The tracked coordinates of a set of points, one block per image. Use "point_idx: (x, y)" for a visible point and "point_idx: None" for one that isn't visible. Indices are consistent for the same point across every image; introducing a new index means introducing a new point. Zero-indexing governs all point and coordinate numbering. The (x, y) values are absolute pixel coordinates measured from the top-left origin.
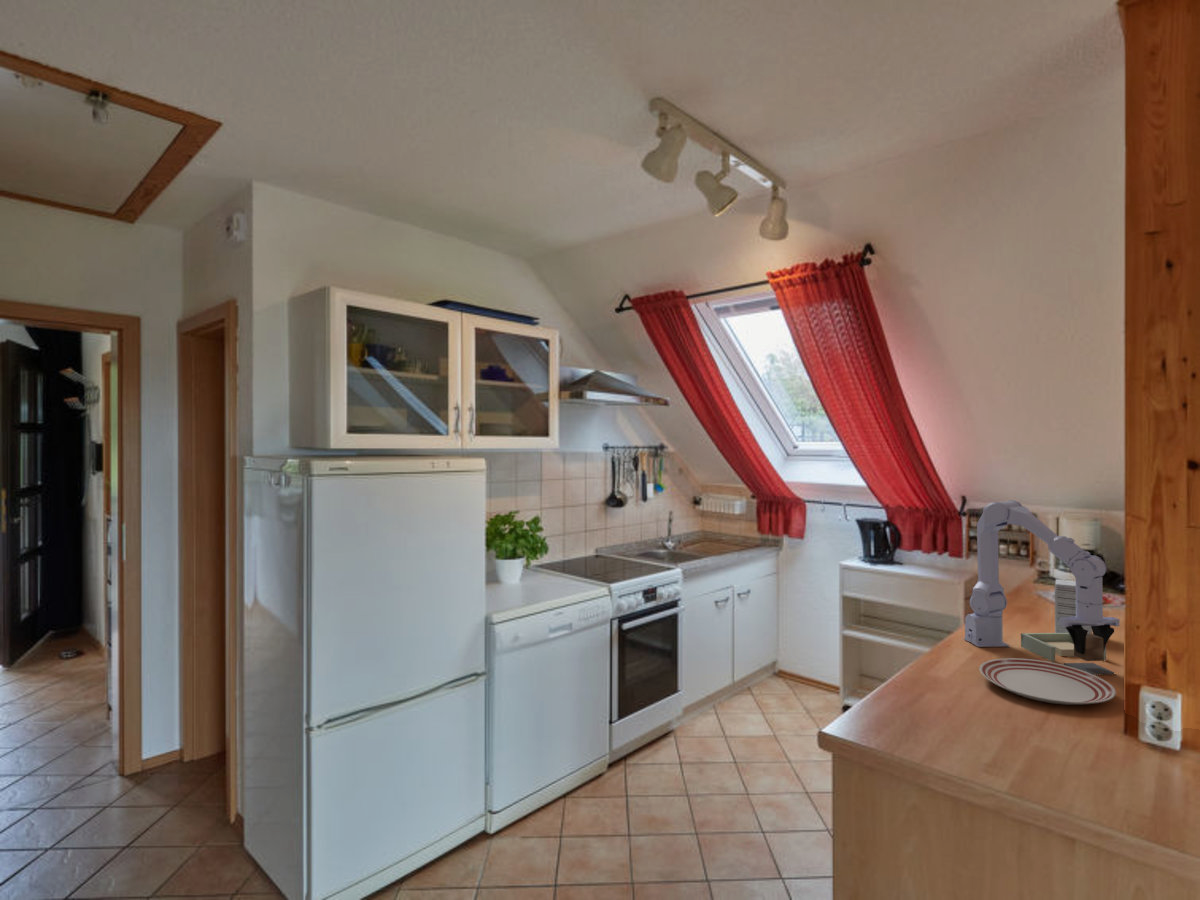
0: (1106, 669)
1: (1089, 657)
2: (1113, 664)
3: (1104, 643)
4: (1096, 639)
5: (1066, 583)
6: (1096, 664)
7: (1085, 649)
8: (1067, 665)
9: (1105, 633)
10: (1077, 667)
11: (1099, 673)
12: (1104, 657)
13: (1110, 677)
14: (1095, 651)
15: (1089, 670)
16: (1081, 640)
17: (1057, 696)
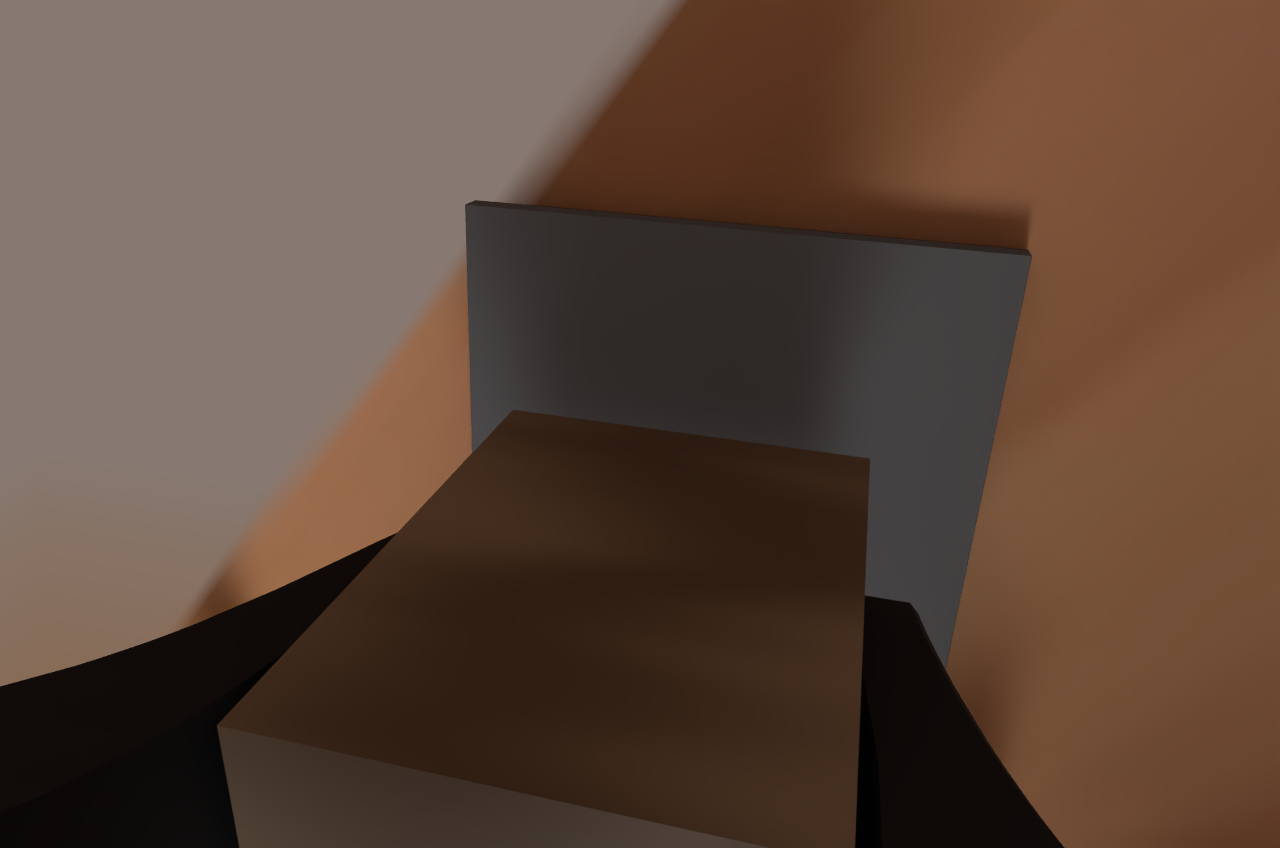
0: (488, 394)
1: (800, 482)
2: (227, 582)
3: (278, 624)
4: (465, 743)
5: None
6: None
7: (856, 625)
8: (944, 659)
9: (21, 806)
10: (884, 544)
11: (755, 240)
12: None
13: (663, 105)
14: (625, 529)
15: (805, 394)
16: (1032, 841)
17: None
